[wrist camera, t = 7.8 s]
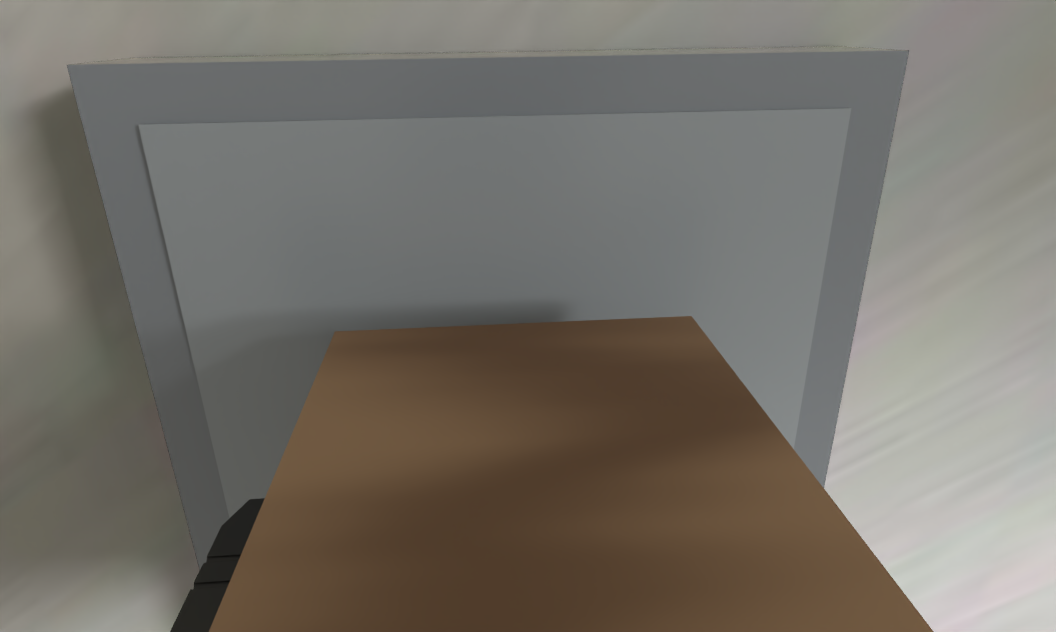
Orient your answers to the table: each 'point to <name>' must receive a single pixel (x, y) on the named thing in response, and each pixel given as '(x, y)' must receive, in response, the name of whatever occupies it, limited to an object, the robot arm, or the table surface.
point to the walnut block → (548, 495)
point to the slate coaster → (480, 218)
